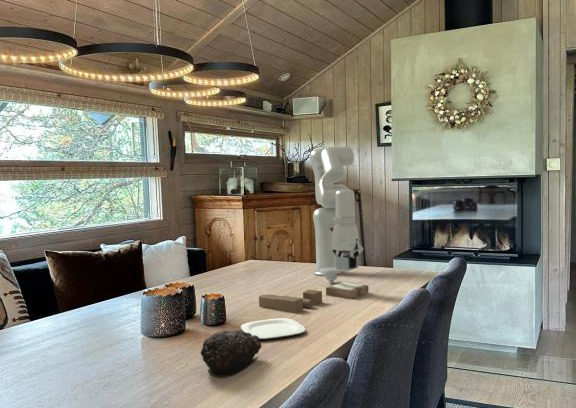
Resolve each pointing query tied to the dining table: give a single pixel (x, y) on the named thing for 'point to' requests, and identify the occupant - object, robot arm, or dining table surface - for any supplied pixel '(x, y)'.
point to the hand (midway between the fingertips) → (346, 266)
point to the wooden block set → (291, 301)
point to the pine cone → (230, 352)
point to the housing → (344, 262)
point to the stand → (347, 290)
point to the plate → (273, 328)
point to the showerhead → (330, 273)
